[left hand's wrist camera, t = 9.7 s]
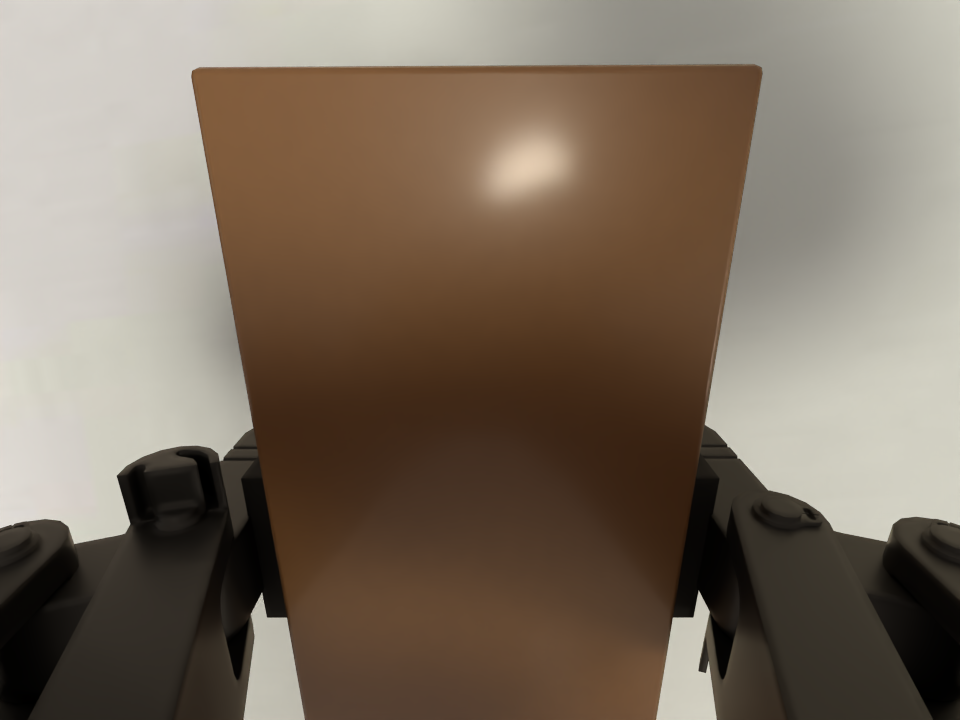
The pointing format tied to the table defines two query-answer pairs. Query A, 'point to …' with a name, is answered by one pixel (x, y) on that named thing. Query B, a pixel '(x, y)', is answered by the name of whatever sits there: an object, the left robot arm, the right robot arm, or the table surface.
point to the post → (478, 366)
